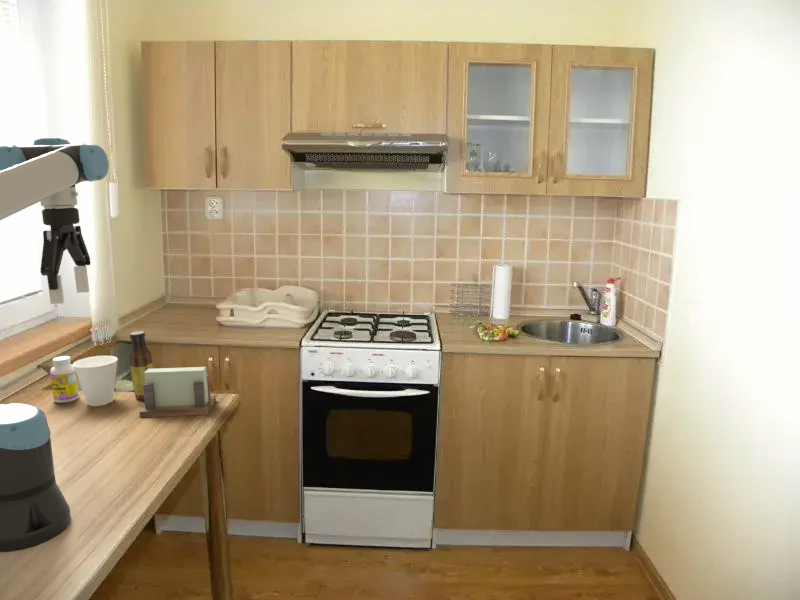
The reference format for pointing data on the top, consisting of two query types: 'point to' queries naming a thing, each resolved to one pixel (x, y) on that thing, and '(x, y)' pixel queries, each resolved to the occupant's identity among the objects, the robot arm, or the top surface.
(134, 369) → the sauce bottle
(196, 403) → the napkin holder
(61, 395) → the supplement bottle
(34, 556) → the top surface
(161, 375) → the door panel
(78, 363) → the cup
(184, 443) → the top surface
